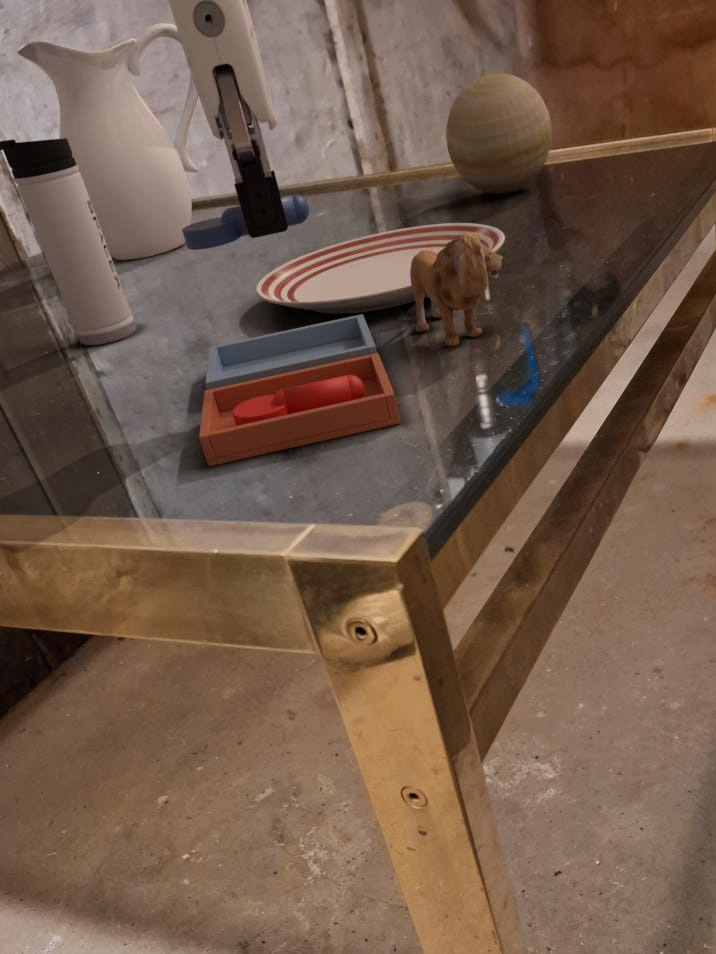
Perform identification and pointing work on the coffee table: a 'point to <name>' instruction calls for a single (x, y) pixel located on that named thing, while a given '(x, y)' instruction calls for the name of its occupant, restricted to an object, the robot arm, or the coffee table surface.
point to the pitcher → (122, 143)
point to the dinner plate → (363, 269)
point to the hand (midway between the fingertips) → (268, 228)
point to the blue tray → (288, 351)
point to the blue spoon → (237, 224)
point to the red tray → (298, 428)
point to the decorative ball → (499, 133)
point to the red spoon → (299, 399)
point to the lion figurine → (453, 282)
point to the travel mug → (71, 238)
